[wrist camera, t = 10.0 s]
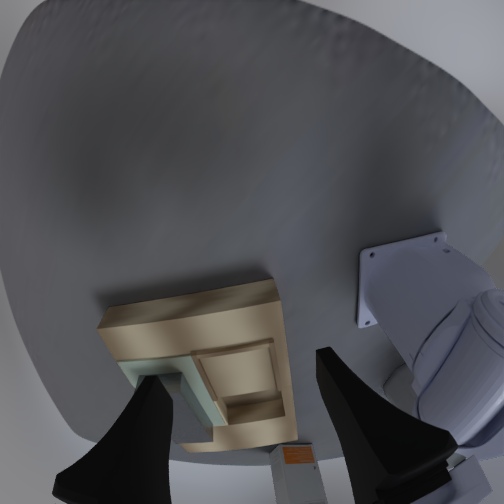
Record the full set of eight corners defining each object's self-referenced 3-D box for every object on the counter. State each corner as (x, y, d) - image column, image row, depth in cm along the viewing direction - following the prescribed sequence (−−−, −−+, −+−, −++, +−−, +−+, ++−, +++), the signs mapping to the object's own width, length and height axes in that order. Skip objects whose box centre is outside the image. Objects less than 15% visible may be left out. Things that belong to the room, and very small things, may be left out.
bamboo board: (273, 278, 21) (281, 303, 17) (293, 421, 30) (298, 442, 27) (108, 307, 20) (94, 332, 17) (189, 434, 29) (187, 454, 26)
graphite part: (182, 371, 20) (179, 392, 18) (213, 424, 23) (213, 441, 21) (138, 375, 20) (133, 394, 18) (177, 426, 23) (175, 443, 21)
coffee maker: (405, 401, 32) (449, 488, 16) (363, 407, 31) (406, 512, 14) (460, 327, 27) (533, 417, 10) (423, 325, 25) (508, 443, 9)
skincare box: (313, 442, 34) (330, 505, 23) (301, 453, 35) (314, 512, 24) (278, 443, 32) (291, 511, 22) (267, 453, 34) (277, 516, 23)
